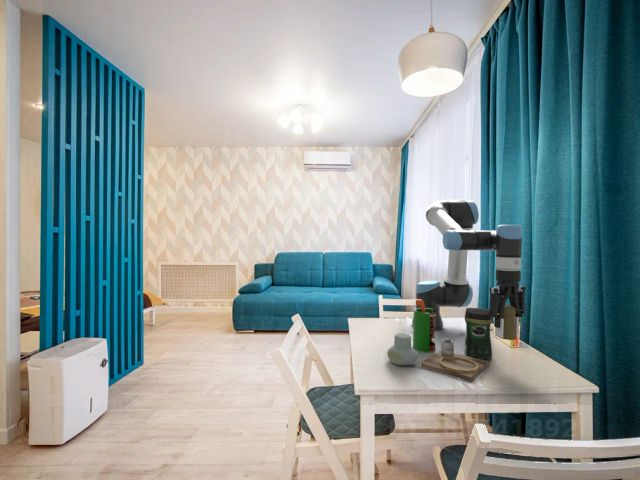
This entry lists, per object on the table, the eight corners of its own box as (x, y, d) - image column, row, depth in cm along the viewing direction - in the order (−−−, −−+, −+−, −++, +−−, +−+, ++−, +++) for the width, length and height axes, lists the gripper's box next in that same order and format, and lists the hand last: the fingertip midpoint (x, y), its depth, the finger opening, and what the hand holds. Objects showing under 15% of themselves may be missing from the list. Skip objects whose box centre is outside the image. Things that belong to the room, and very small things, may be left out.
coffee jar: (491, 354, 125) (491, 307, 125) (493, 362, 118) (493, 311, 117) (463, 351, 129) (464, 305, 129) (464, 357, 121) (464, 309, 121)
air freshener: (383, 360, 118) (383, 333, 118) (397, 355, 123) (398, 330, 123) (407, 370, 110) (407, 341, 109) (422, 364, 115) (422, 337, 114)
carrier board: (441, 353, 126) (441, 334, 126) (488, 365, 114) (488, 344, 114) (420, 366, 113) (420, 345, 113) (471, 381, 101) (471, 358, 101)
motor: (437, 353, 126) (437, 303, 126) (413, 351, 128) (414, 302, 127) (433, 345, 136) (434, 298, 136) (411, 343, 138) (412, 297, 137)
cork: (510, 341, 106) (510, 308, 106) (492, 335, 112) (493, 304, 111) (520, 338, 109) (521, 306, 109) (503, 333, 115) (504, 302, 114)
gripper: (495, 271, 103) (493, 342, 104) (539, 269, 109) (537, 336, 110) (477, 268, 111) (476, 334, 111) (519, 267, 116) (518, 330, 117)
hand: (506, 335), depth 110 cm, fingers closed on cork, 6 cm apart
